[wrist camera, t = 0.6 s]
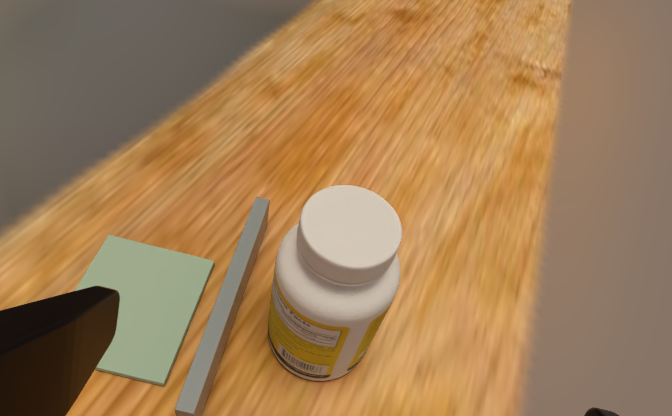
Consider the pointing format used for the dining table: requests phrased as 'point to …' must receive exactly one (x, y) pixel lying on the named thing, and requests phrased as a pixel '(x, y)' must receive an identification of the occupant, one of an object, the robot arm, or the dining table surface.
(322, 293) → the supplement bottle
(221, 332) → the acrylic wall
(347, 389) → the dining table surface
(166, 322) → the coaster
